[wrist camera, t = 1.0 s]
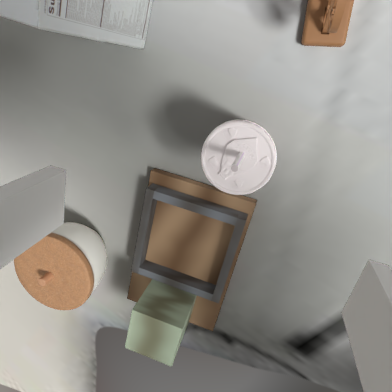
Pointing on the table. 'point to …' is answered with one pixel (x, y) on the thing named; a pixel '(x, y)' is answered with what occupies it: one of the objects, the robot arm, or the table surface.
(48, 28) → the supplement box
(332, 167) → the table surface
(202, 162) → the smoothie
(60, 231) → the lidded jar
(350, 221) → the table surface
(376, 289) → the robot arm
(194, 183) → the board
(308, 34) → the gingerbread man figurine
